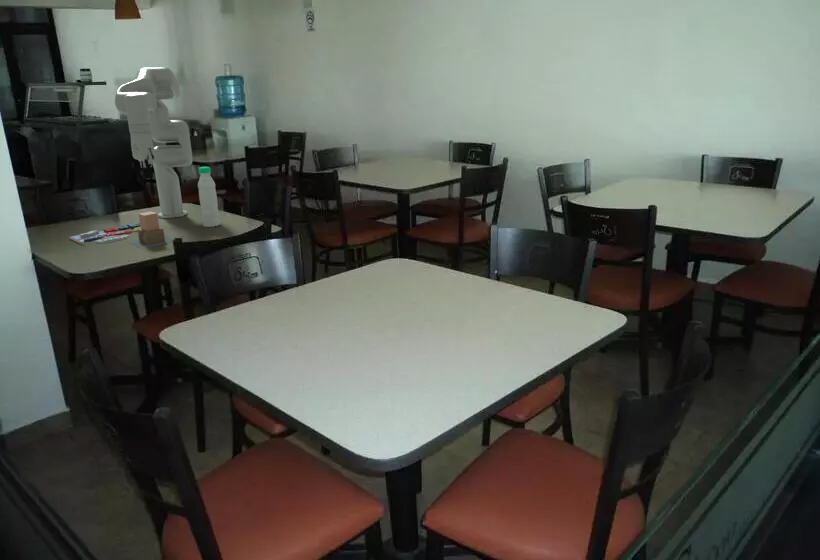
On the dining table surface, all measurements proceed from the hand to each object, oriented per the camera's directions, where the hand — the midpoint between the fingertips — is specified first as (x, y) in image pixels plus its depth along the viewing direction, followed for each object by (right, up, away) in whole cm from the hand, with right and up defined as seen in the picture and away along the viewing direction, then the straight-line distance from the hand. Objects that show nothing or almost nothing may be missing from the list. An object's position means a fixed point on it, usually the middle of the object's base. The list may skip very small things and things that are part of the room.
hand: (148, 177), depth 235 cm
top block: (0, -19, +1) cm, 19 cm away
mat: (0, -25, +3) cm, 25 cm away
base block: (0, -24, +3) cm, 24 cm away
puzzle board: (-18, -22, +15) cm, 32 cm away
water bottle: (+15, -16, +29) cm, 36 cm away
